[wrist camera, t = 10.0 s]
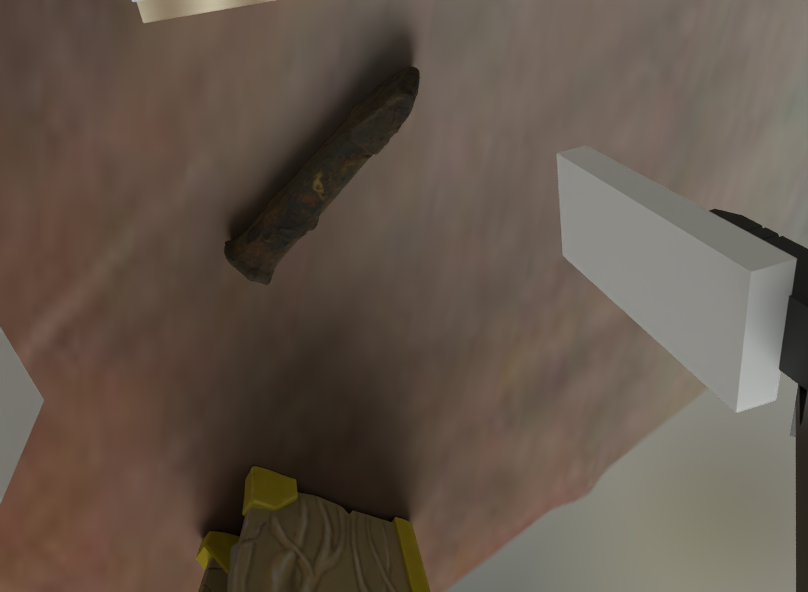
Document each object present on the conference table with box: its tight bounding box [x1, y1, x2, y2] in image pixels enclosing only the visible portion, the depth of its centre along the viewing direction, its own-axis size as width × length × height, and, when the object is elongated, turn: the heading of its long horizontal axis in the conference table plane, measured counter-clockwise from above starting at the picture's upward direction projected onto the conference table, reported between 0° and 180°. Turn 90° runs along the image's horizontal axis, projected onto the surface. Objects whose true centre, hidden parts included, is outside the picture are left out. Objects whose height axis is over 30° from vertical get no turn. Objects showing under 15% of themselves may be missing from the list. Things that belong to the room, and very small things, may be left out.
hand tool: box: [224, 67, 420, 285], centre depth 46 cm, size 19×4×5 cm, turn 133°
